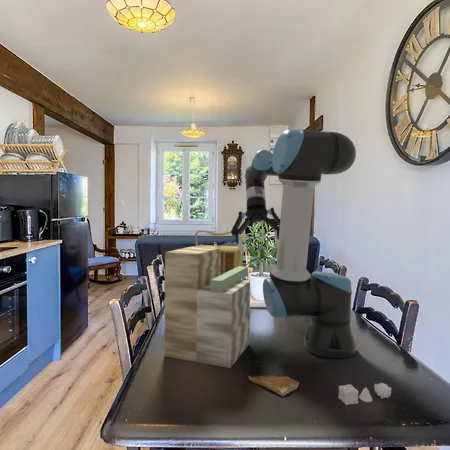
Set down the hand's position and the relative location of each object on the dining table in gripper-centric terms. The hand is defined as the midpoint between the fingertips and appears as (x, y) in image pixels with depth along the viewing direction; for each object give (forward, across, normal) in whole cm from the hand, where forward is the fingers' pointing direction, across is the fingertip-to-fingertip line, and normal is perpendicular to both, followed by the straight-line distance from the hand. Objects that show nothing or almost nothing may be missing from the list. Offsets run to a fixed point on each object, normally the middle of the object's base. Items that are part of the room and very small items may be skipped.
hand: (258, 249), depth 127 cm
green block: (+17, +7, +16) cm, 25 cm away
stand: (+36, +16, +10) cm, 40 cm away
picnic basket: (-17, +35, -77) cm, 86 cm away
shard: (+48, -5, +24) cm, 54 cm away
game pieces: (+50, -25, +23) cm, 61 cm away
